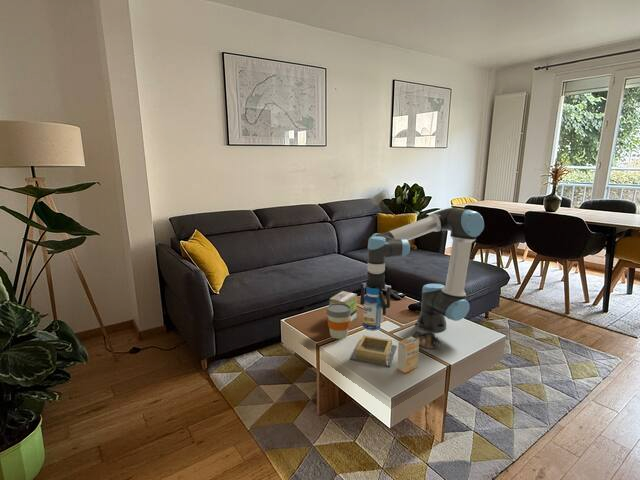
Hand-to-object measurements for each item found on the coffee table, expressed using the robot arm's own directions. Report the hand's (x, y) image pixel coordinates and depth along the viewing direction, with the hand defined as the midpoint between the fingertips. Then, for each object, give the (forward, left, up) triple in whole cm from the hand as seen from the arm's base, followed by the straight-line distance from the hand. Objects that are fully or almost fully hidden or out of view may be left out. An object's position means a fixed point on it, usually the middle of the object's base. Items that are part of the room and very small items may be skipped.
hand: (374, 320), depth 162 cm
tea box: (+24, -29, -17) cm, 41 cm away
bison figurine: (-22, -15, -17) cm, 32 cm away
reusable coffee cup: (+21, -12, -17) cm, 30 cm away
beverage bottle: (+1, 0, -4) cm, 4 cm away
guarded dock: (0, 0, -17) cm, 17 cm away
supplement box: (-16, +7, -17) cm, 24 cm away
